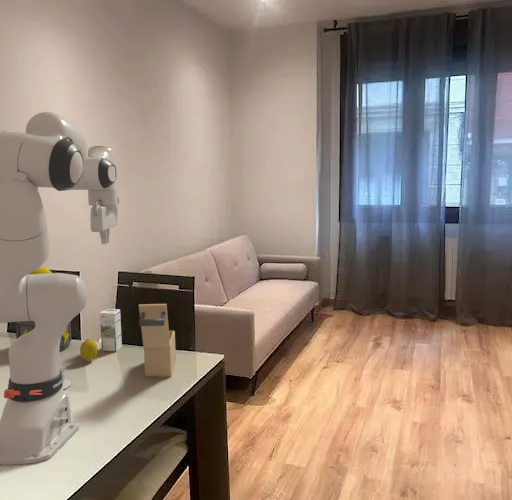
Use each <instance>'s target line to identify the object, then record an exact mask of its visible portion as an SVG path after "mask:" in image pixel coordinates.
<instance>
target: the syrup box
mask: <svg viewBox="0 0 512 500" xmlns="http://www.w3.org/2000/svg"><path fill="white" fill-rule="evenodd" d="M121 316H122V315H121V309H119V308H117V309H115V308H113V309H112V308H105V309H103V310H101V311H100V312H99V325H100V343H101V352H110V353H113V352H118V351H120V350H121V349H122V347H123V343H122V340H123V339H122V325H121V323H122V322H121V320H122V319H121Z"/></svg>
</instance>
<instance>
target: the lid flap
mask: <svg viewBox="0 0 512 500" xmlns="http://www.w3.org/2000/svg"><path fill="white" fill-rule="evenodd" d="M167 304H168V303H147V304H145V303H144V304H143V303H141V304H140V303H139V304H138V312H139V319H138V326H139V327H140V328H141V338H142V345H143V349H144V348H170V339H169V331H170V329H169V318H168V306H167Z"/></svg>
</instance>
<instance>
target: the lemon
mask: <svg viewBox="0 0 512 500" xmlns="http://www.w3.org/2000/svg"><path fill="white" fill-rule="evenodd" d="M79 349H80V350H79V352H80V356H81V358H82V359H83V360H86V361H87V362H91V361H92V360H94V359H95V358H96V357H97V355H98V345H97V343H96V342H95V341H94V340H93V339H90V338H86V339H85V340H83V342H82V343H81V344H80V347H79Z"/></svg>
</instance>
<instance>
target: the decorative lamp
mask: <svg viewBox="0 0 512 500" xmlns="http://www.w3.org/2000/svg"><path fill="white" fill-rule="evenodd" d="M48 273H53V272H52V271H51V270H50V269H49V268H46V267H44V266H43V267H42V266H41V267H40V268H38V269H37V270H35V271H33V272H31V273H29V274H48ZM14 323H15V334H16V335H15V338H16V339H18V338H19V337H21V336H22V335H24V334H26V333H28V332H30V331H31V330H33V329H34V328H35V322H34V321H19V322H14ZM71 325H72V324H71V321H70V322H69V324H68V325H67V326H66V328H65V330H64V332H63V334H62V337H61V340H60V348H59V353H60V352H63V351H65V350H67V349H68V348H69V347H70V346H71V342H72V331H71V329H72V328H71Z"/></svg>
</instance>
